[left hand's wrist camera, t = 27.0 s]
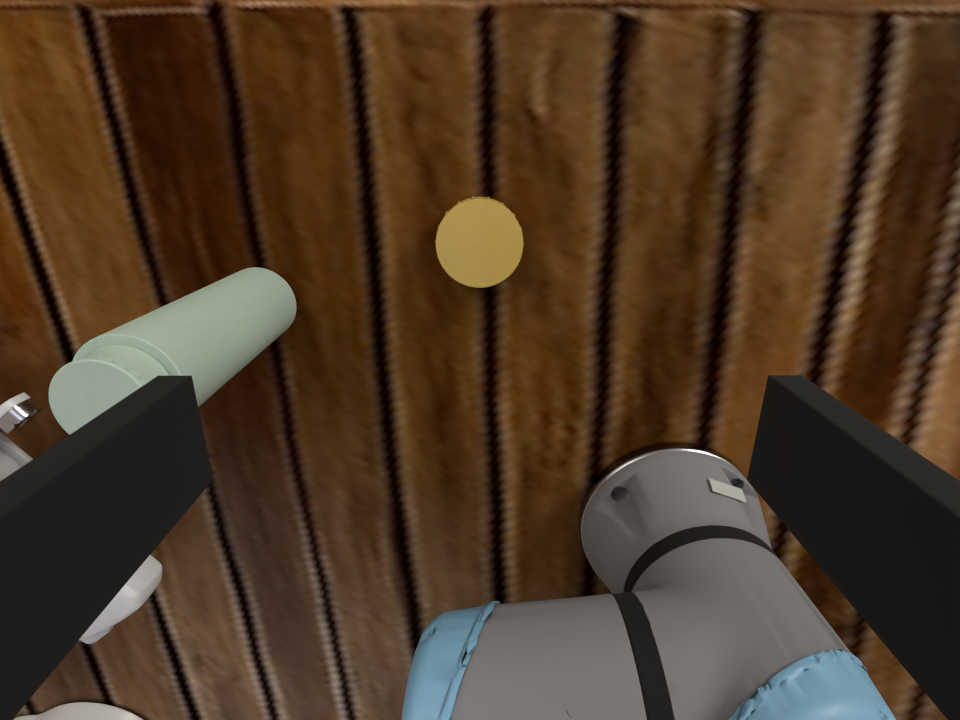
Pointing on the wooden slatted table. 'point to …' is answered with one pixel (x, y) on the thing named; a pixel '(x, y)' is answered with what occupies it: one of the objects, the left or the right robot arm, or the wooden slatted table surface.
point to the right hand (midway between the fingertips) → (86, 454)
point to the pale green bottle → (176, 345)
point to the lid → (479, 242)
